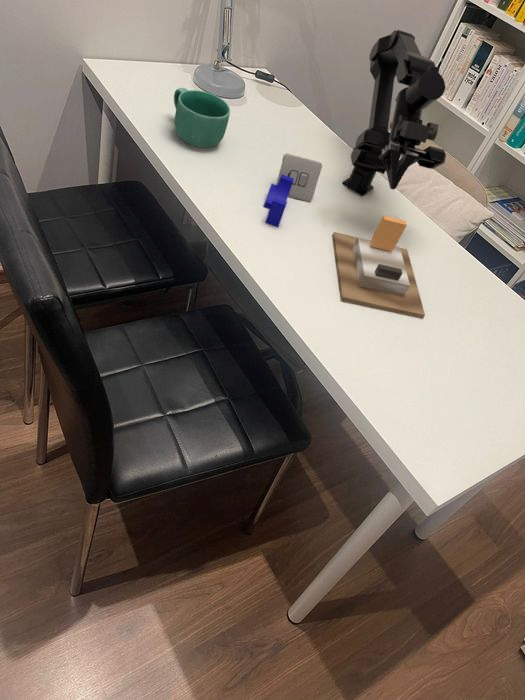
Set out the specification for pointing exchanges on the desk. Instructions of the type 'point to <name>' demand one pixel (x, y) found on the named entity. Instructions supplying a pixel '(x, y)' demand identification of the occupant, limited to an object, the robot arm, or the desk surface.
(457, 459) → the desk surface
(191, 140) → the mug
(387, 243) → the orange wedge plank
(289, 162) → the electrical switch
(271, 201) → the cable clip
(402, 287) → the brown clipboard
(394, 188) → the robot arm
